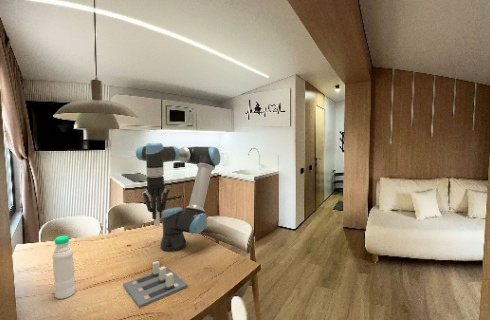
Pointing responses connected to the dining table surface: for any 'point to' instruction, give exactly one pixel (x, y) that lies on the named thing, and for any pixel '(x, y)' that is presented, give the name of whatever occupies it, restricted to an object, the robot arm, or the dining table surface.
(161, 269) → the breaker
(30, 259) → the dining table surface
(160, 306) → the dining table surface
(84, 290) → the dining table surface
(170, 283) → the breaker
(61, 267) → the water bottle
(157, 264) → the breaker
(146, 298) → the panel
